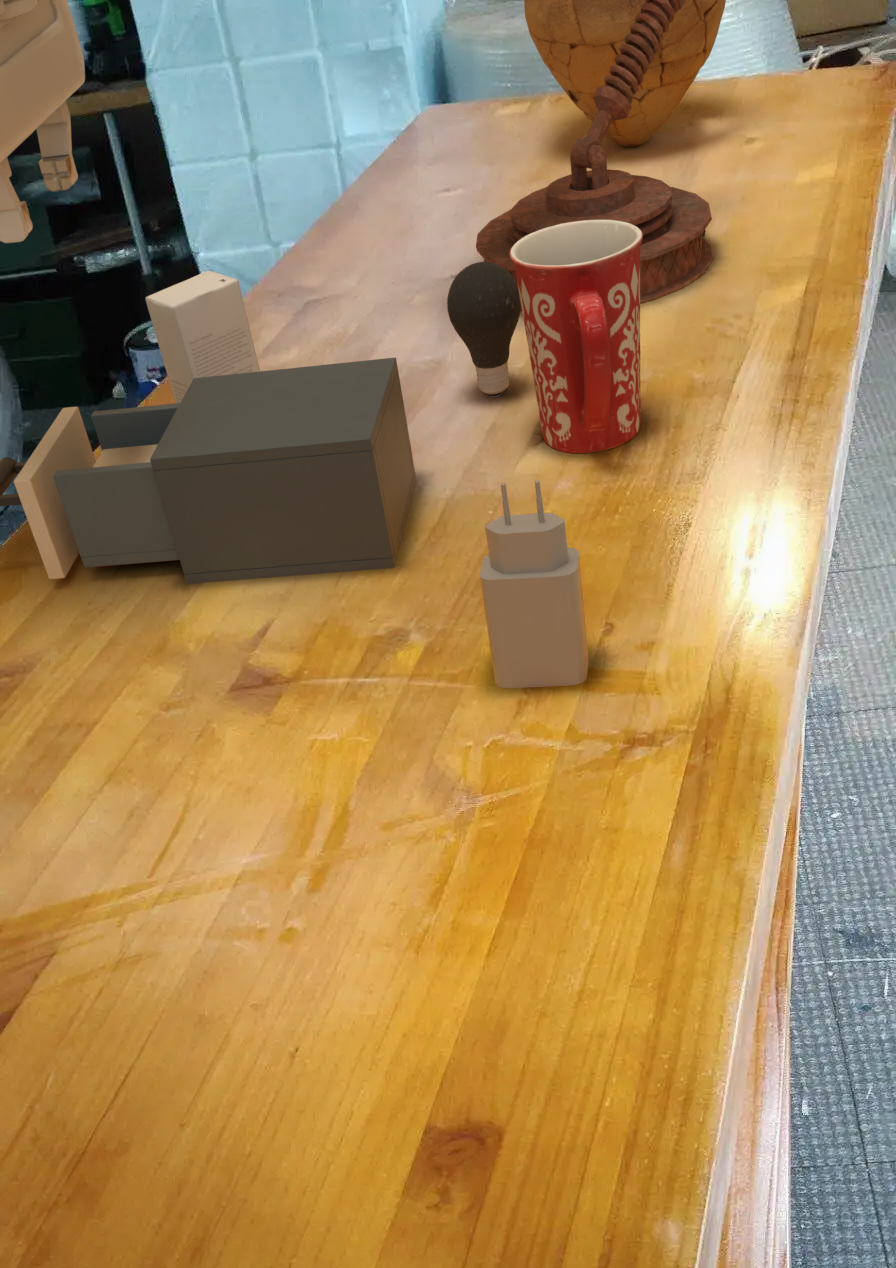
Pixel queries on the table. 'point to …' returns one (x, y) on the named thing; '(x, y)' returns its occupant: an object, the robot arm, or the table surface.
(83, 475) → the drawer
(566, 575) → the power adapter
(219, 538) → the cabinet
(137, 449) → the block
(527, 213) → the desk lamp
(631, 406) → the mug
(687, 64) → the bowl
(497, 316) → the light bulb
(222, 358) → the cosmetic box
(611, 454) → the table surface
